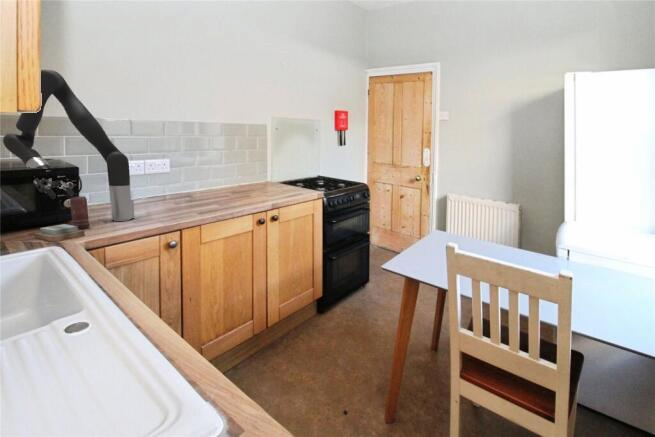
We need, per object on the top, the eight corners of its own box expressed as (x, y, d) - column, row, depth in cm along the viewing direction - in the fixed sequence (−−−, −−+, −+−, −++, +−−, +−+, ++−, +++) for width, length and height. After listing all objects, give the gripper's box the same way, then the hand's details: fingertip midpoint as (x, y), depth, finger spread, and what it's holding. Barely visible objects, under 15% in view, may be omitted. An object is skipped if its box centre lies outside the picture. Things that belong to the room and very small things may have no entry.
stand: (66, 232, 158) (65, 223, 157) (84, 235, 153) (83, 226, 152) (34, 238, 147) (33, 228, 147) (53, 241, 142) (51, 231, 142)
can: (82, 230, 163) (78, 198, 160) (69, 229, 164) (66, 197, 162) (93, 227, 169) (90, 196, 166) (81, 226, 170) (78, 195, 167)
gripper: (28, 164, 159) (52, 192, 158) (60, 163, 172) (82, 189, 171) (20, 176, 161) (44, 204, 160) (52, 174, 175) (74, 200, 174)
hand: (64, 196), depth 166 cm, fingers open, 8 cm apart
